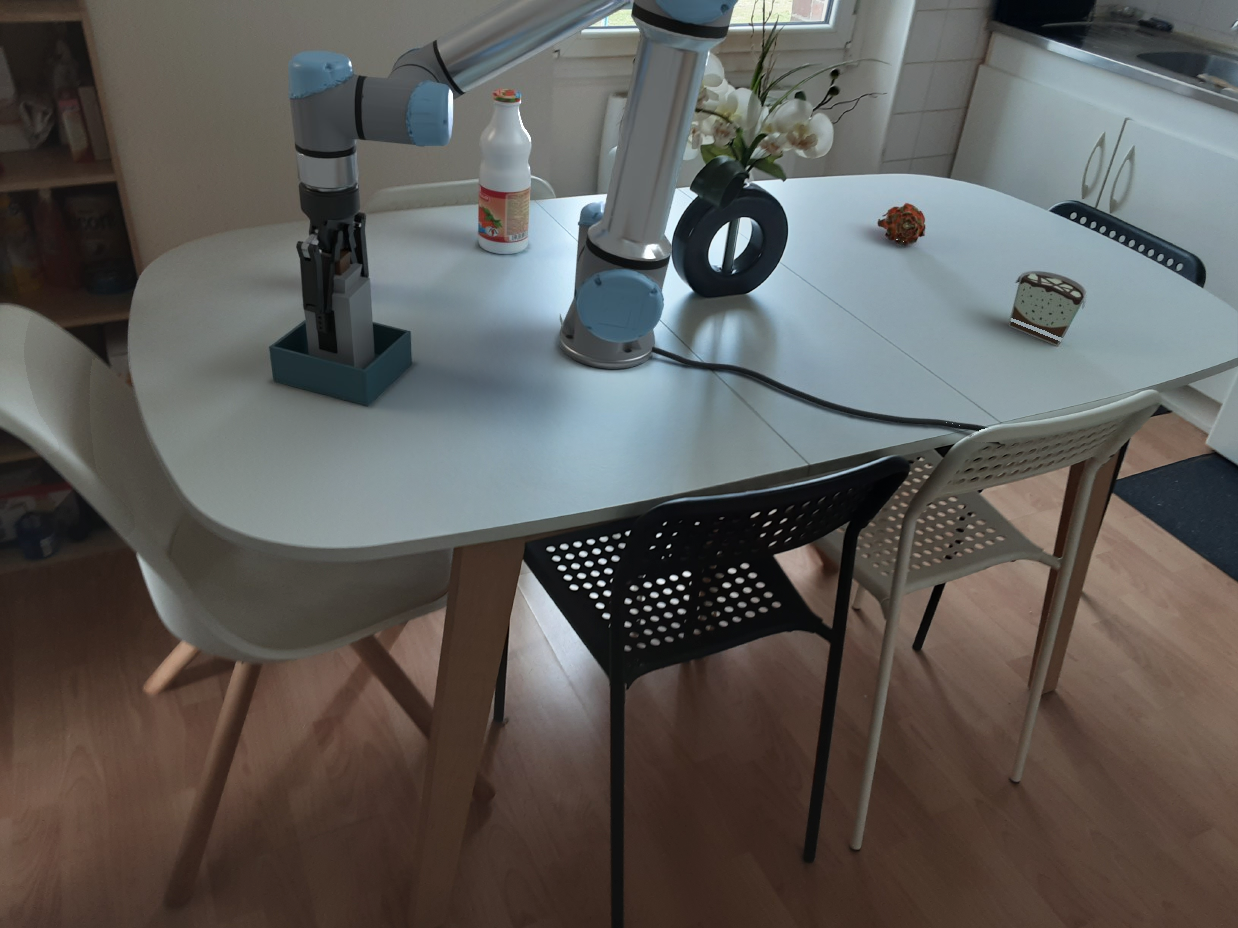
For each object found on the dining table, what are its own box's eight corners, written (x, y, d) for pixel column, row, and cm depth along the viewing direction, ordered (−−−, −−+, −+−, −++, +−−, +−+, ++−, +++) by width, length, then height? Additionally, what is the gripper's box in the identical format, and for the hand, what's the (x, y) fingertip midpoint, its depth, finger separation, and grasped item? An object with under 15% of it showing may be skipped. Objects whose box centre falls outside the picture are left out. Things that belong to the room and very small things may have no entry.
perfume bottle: (355, 384, 138) (346, 267, 127) (311, 375, 139) (298, 259, 128) (375, 362, 143) (367, 248, 133) (332, 353, 144) (321, 240, 134)
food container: (1079, 339, 173) (1100, 288, 167) (1065, 349, 169) (1087, 298, 164) (1014, 313, 180) (1033, 263, 174) (1000, 323, 176) (1018, 272, 170)
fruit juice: (530, 256, 180) (536, 102, 164) (478, 255, 179) (480, 99, 162) (526, 235, 188) (532, 86, 171) (476, 234, 186) (478, 83, 170)
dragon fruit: (907, 261, 199) (881, 245, 210) (942, 237, 199) (914, 222, 209) (891, 227, 195) (865, 213, 205) (927, 202, 194) (899, 189, 205)
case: (412, 364, 145) (410, 331, 142) (367, 406, 135) (365, 371, 131) (323, 341, 148) (319, 308, 145) (273, 381, 138) (268, 346, 134)
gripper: (341, 155, 133) (351, 307, 146) (259, 199, 118) (280, 363, 132) (390, 166, 131) (396, 319, 145) (314, 211, 117) (329, 376, 130)
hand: (341, 340), depth 138 cm, fingers closed on perfume bottle, 6 cm apart
